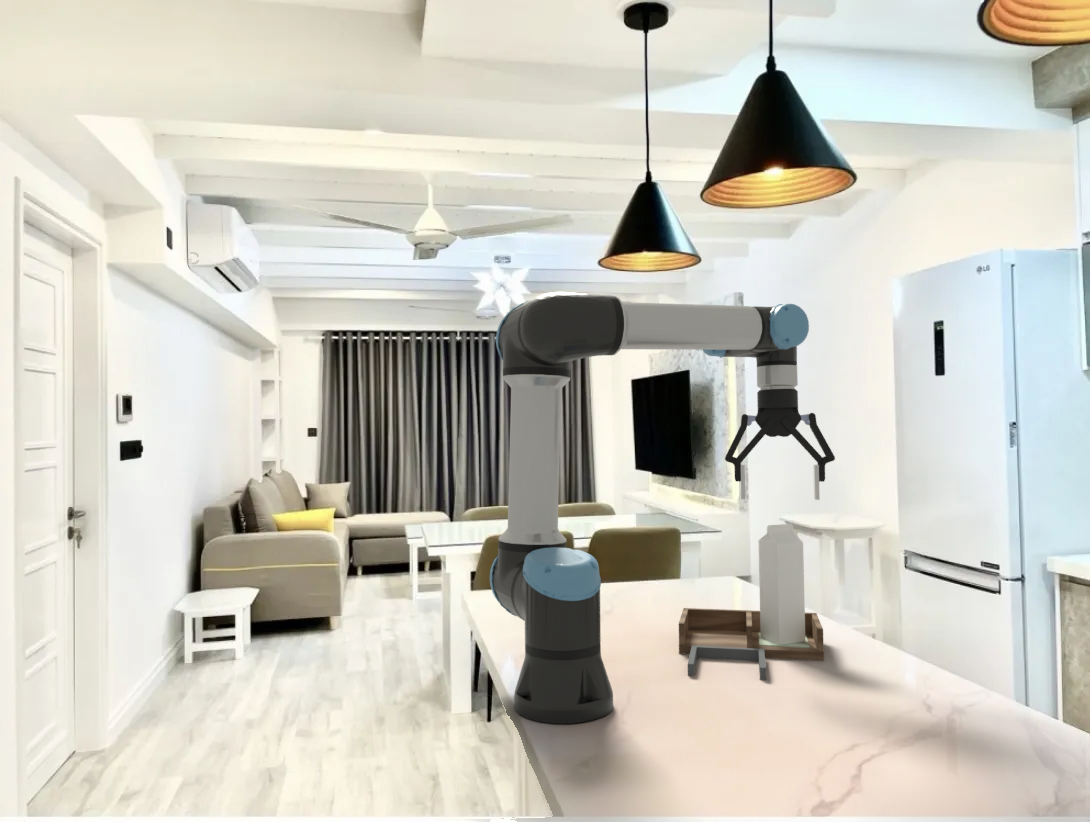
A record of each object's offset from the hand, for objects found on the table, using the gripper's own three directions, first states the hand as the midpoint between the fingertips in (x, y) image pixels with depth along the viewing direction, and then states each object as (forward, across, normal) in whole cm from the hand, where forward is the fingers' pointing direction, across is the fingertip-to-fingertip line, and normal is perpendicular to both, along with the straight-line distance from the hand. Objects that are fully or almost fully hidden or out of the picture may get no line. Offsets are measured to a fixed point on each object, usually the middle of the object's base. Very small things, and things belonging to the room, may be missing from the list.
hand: (779, 499), depth 154 cm
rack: (+29, +6, 0) cm, 29 cm away
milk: (+27, 0, 0) cm, 27 cm away
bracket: (+29, +10, +15) cm, 34 cm away
